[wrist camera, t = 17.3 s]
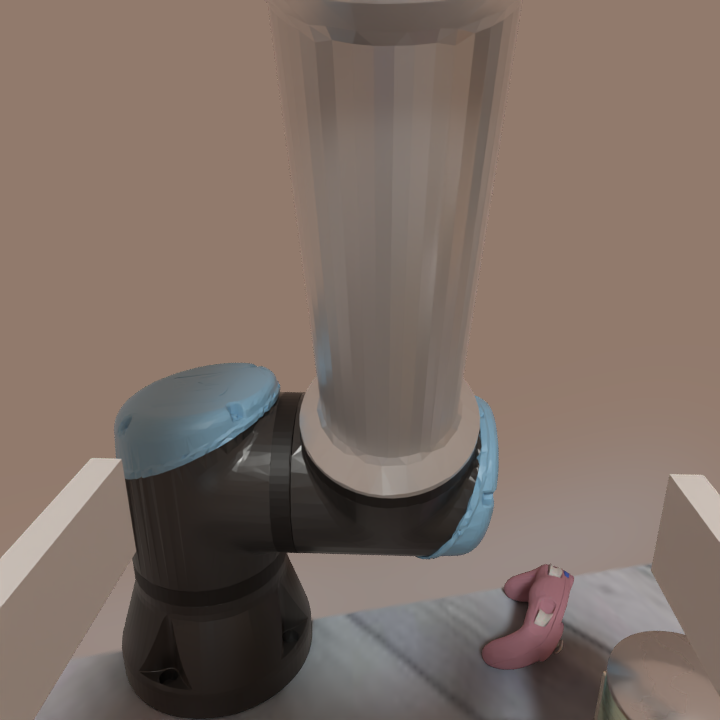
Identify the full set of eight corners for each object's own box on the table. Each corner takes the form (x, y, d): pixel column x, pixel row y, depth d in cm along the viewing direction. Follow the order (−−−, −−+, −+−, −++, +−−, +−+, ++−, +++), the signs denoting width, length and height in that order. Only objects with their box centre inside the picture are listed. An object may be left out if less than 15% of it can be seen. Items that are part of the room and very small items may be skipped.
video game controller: (524, 698, 50) (575, 648, 47) (474, 662, 51) (521, 610, 48) (544, 614, 59) (589, 567, 55) (501, 584, 59) (542, 535, 56)
